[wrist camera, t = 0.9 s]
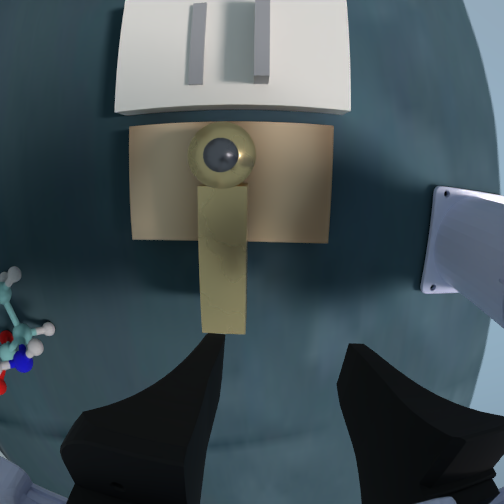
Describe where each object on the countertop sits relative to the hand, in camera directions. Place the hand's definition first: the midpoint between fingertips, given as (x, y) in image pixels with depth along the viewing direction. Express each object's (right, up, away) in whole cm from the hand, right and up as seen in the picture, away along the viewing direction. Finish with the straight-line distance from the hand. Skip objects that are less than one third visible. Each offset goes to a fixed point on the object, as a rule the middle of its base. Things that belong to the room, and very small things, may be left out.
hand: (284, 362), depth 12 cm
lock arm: (-3, +6, +7) cm, 9 cm away
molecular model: (-21, -2, +12) cm, 24 cm away
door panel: (-2, +17, +6) cm, 18 cm away
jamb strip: (-3, +9, +8) cm, 12 cm away
